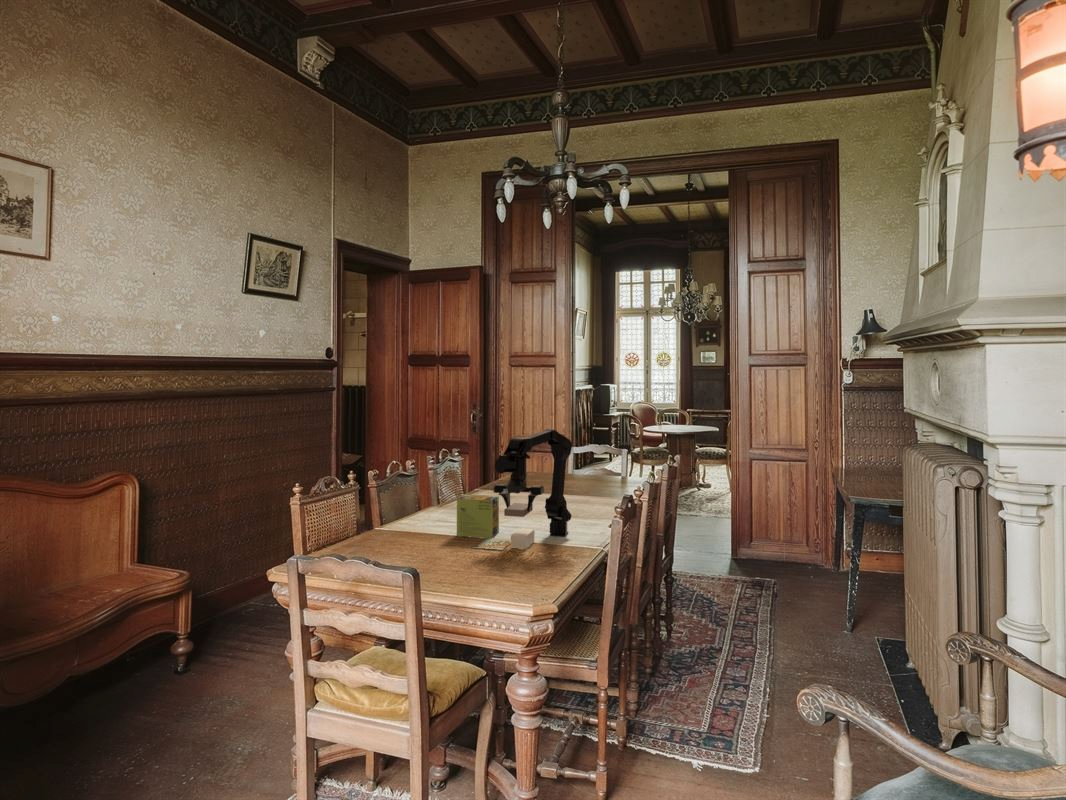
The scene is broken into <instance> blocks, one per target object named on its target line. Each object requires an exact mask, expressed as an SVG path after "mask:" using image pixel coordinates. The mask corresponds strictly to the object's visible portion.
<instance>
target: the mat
mask: <svg viewBox="0 0 1066 800" xmlns="http://www.w3.org/2000/svg"><path fill="white" fill-rule="evenodd" d="M487 540H488V541H487ZM490 541H491V542H490ZM495 541H496V542H499V541H503V542H501V543H500V544H501V545H502V544H503V543H504V542H505V541H509V542H510V543H511V538H508V539H507V538H498V537H497V538H495V537H493V538H485V539H484V540H483V541H482V542H481V543H479V544H478V545H477V546H480V544H481V545H482V546H483V545H484V544H485V545H486V546H487V545H488V544H489V545H492V544H493V543H492V542H495ZM489 542H490V543H489ZM494 544H495V545H496V544H497V543H494ZM494 547H497V546H494ZM498 547H505V546H498ZM498 547H497V548H493V547H491V548H489V547H486V548H485V547H482V548H485V549H488V548H489V549H498V550H503V549H504V548H498ZM474 548H476V546H475V547H474ZM478 548H481V547H478ZM485 549H484V550H485ZM498 550H497V551H498ZM504 550H505V549H504ZM504 550H503V551H504Z"/></svg>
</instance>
